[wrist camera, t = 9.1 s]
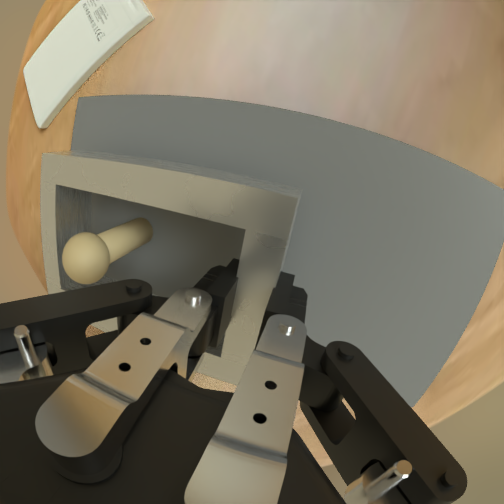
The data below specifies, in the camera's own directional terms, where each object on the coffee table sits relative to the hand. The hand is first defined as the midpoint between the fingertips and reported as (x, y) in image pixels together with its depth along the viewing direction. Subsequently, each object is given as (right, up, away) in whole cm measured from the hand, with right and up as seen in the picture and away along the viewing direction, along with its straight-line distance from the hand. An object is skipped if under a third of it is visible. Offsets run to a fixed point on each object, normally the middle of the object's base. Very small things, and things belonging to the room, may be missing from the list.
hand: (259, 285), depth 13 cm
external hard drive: (-14, +18, +2) cm, 23 cm away
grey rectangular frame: (-5, +2, +2) cm, 6 cm away
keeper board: (0, +1, +4) cm, 4 cm away
